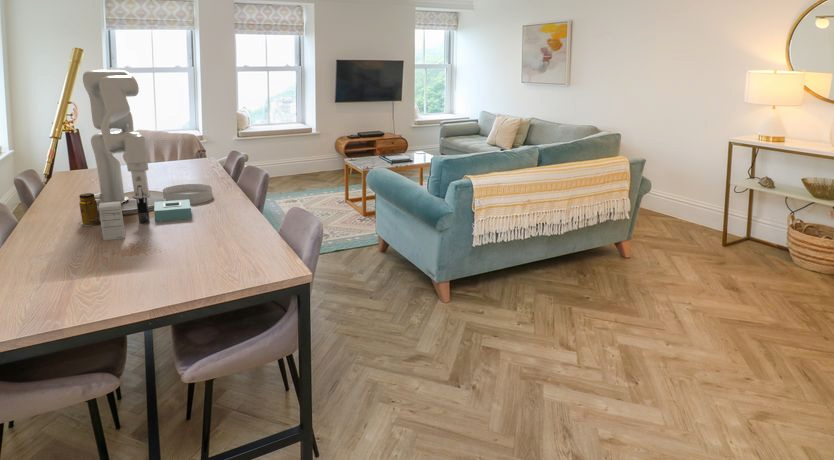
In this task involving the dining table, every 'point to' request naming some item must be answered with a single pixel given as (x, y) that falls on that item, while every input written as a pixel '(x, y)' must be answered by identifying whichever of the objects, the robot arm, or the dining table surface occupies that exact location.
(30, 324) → the dining table surface
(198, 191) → the dish
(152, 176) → the dining table surface
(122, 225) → the supplement box
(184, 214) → the dock
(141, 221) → the bolt
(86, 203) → the condiment
